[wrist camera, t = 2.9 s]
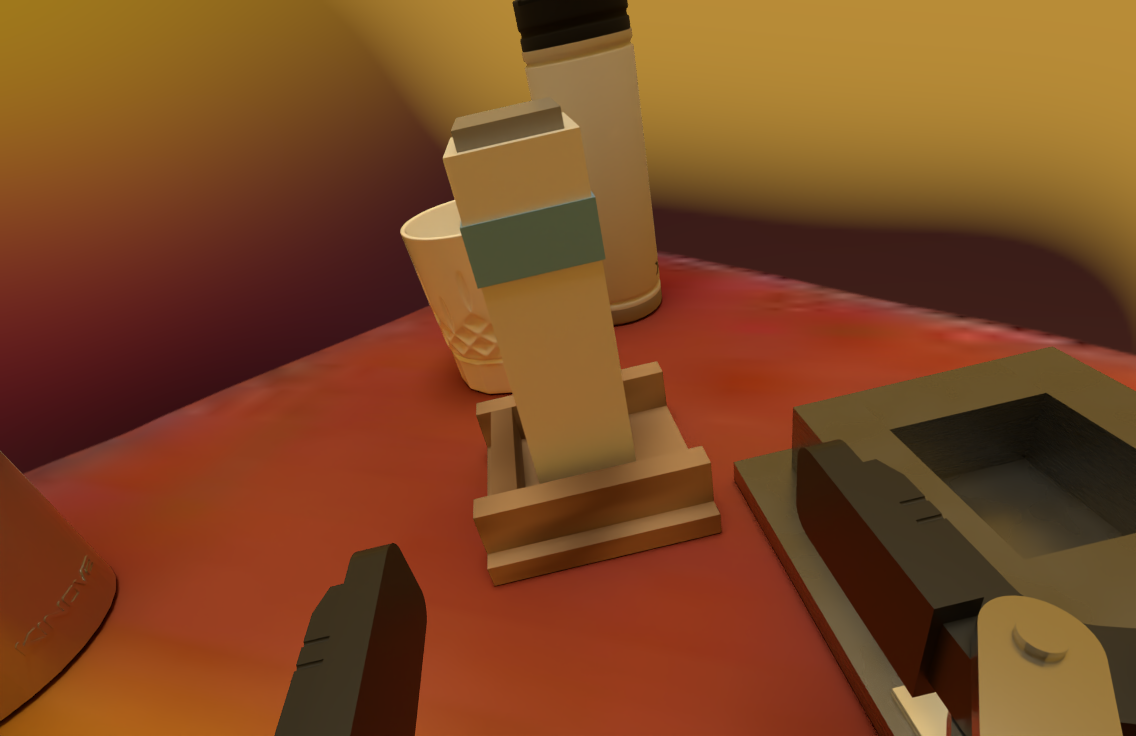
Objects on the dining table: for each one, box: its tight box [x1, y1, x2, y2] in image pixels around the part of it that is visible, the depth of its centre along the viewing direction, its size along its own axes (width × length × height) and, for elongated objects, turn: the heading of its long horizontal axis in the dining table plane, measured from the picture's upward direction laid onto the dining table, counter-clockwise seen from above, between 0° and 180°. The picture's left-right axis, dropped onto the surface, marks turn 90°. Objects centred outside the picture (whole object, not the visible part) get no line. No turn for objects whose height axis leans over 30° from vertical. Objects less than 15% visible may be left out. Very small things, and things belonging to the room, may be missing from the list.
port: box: [734, 347, 1136, 736], centre depth 17 cm, size 14×12×4 cm
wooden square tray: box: [473, 361, 721, 586], centre depth 24 cm, size 9×9×3 cm
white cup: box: [400, 200, 512, 394], centre depth 33 cm, size 8×8×10 cm
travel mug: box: [513, 0, 662, 325], centre depth 35 cm, size 6×7×20 cm
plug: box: [443, 97, 636, 484], centre depth 21 cm, size 4×4×15 cm
